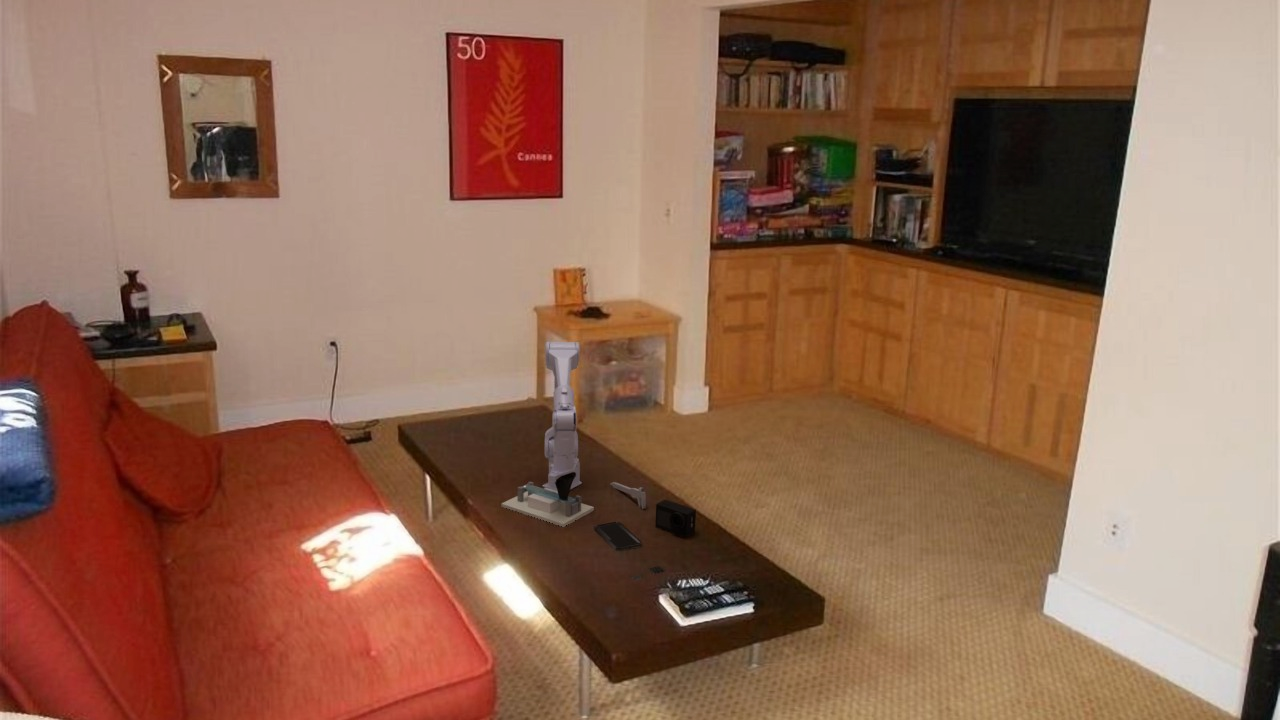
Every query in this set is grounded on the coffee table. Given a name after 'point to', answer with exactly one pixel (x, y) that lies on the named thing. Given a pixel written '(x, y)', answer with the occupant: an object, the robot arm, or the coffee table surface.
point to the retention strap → (547, 493)
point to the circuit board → (654, 570)
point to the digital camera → (675, 518)
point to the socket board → (543, 515)
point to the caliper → (633, 493)
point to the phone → (617, 536)
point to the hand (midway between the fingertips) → (563, 498)
